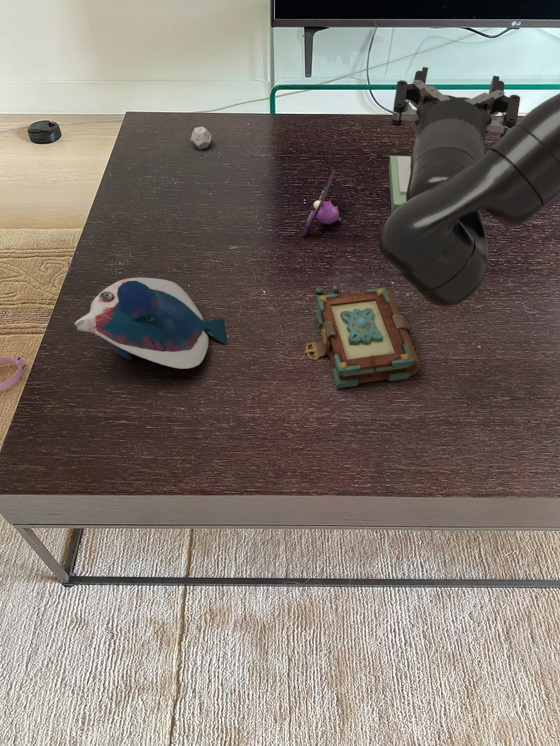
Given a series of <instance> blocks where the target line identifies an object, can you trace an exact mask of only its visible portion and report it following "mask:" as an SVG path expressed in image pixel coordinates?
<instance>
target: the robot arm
mask: <svg viewBox="0 0 560 746" xmlns="http://www.w3.org/2000/svg"><path fill="white" fill-rule="evenodd" d="M428 71H429V67H426V66H423V67H422V70H417V71H416V72H415V73H414V78H413V80H412V83H408V82H407V81H405V80H402V79H401V80H398V81H397V82H396V89H395V95H394V100H393V107H392V115H391V125H392V126H393V127H400V126H402V124H403V122H404V121H405V122H414V125H416V131H415V137H414V142H413V148H412V151H411V153H410V157H411V164H410V170H411V174H410V179H409V184H408V188H407V194H406V202H405V203H403V204H402V205H400V206H399V207H398V208H397V209H395V210H394V211H393V212H392V211H391V213H390V214H389V215H388V217H387V218H386V219H385V221H384V223H383V225H382V228H381V230H380V232H379V236H378V249H379V252H380V254H381V256H382V257H383V258H384V259H385V261H386V262H387V263H388V264H389V265H390V266H391V267H392V269H394V270H395V271H396V273H398V274H399V275H400V276H401V277H402V278H403V279H404V281H406V282H407V283H408V285H409V286H410V287H411V288H412V289H413V290H414V291H415V292H416V293H417V294H418V295H419V296H420V297H421V298H422V299H423V300H425V301H426V302H427V303H429V304H431V305H434V306H437V307H440V308H441V307H442V308H446V307H448V308H449V307H454V306H457V305H459V304H460V305H461V303H464V302H466V301H467V300H468V299H470V298H471V297H472V296H473V295H474V294H475V293H476V292H477V291H478V290H479V288H480V287H481V286H482V283H483V281H484V279H485V277H486V274H487V272H488V267H489V259H490V254H489V253H490V252H489V243H488V238H487V233H486V229H485V224H484V219H483V215H482V212H481V211H484V212H486V213H487V214H488V215H490V216H491V217H492V218H493V219H495V220H496V221H497V222H499V223H501V224H502V225H504V226H507V227H511V228H515V227H519V226H521V225H523V224H525V223H526V222H527V221H529V220H530V219H532V218H533V217H534V216H535V215H536V214H537V213H539V212H540V211H541V210H542V209H543V208H545V207H546V206H547V205H548V204H550V202H552V201H553V200H554V199H555V198H556V197H557V196H558V195H560V92H559V93H557V94H555V95H553V96H551V97H549V98H548V99H546V100H545V101H543V102H541V103H540V104H538V105H537V106H535V107H534V108H532V109H531V110H530V111H529V112H528V113H527V114H525V115H524V116H523V117H521V119H519V120H518V117H519V112H520V111H519V110H520V103H521V96H519V95H517V94H511V95H509V96H507V95H505V94H506V92H505V82H504V81H503V80H500V76H499V75H492V80H491V81H490V87H489V90H488V92H482V93H480V94H477V95H476V96H474V97H472V98H471V97H465V96H460V97H458V96H453V95H450V94H443V93H442V92H441V91H439V90H438V89H437V88H436V87H435V86H434V85H427V84H426V81H427V77H428ZM413 107H414V108H415V109H414V108H413ZM500 113H501V116H498V117H497V119H493V117H495V116H497V115H498V114H500ZM489 132H490V133H495V134H500V135H499V139H497V141H496V142H495V143H494V144H492V146H490V147H489V149H487V150H486V137H487V134H488V133H489ZM485 150H486V151H485Z"/></svg>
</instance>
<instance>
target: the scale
mask: <svg viewBox="0 0 560 746" xmlns="http://www.w3.org/2000/svg"><path fill="white" fill-rule="evenodd" d="M410 164H411V155H410V156H408V155H390V156H389V161H388V175H389V176H388V178H389V192H390V205H391V206H390V207H391V208H390V209H391V213H392V212H393V211H394V210H395V209H397V208H398V207H399V206H400V205H402V204H403V203H405V202H406V194H407V188H408V184H409V179H410V174H411V170H410Z"/></svg>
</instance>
